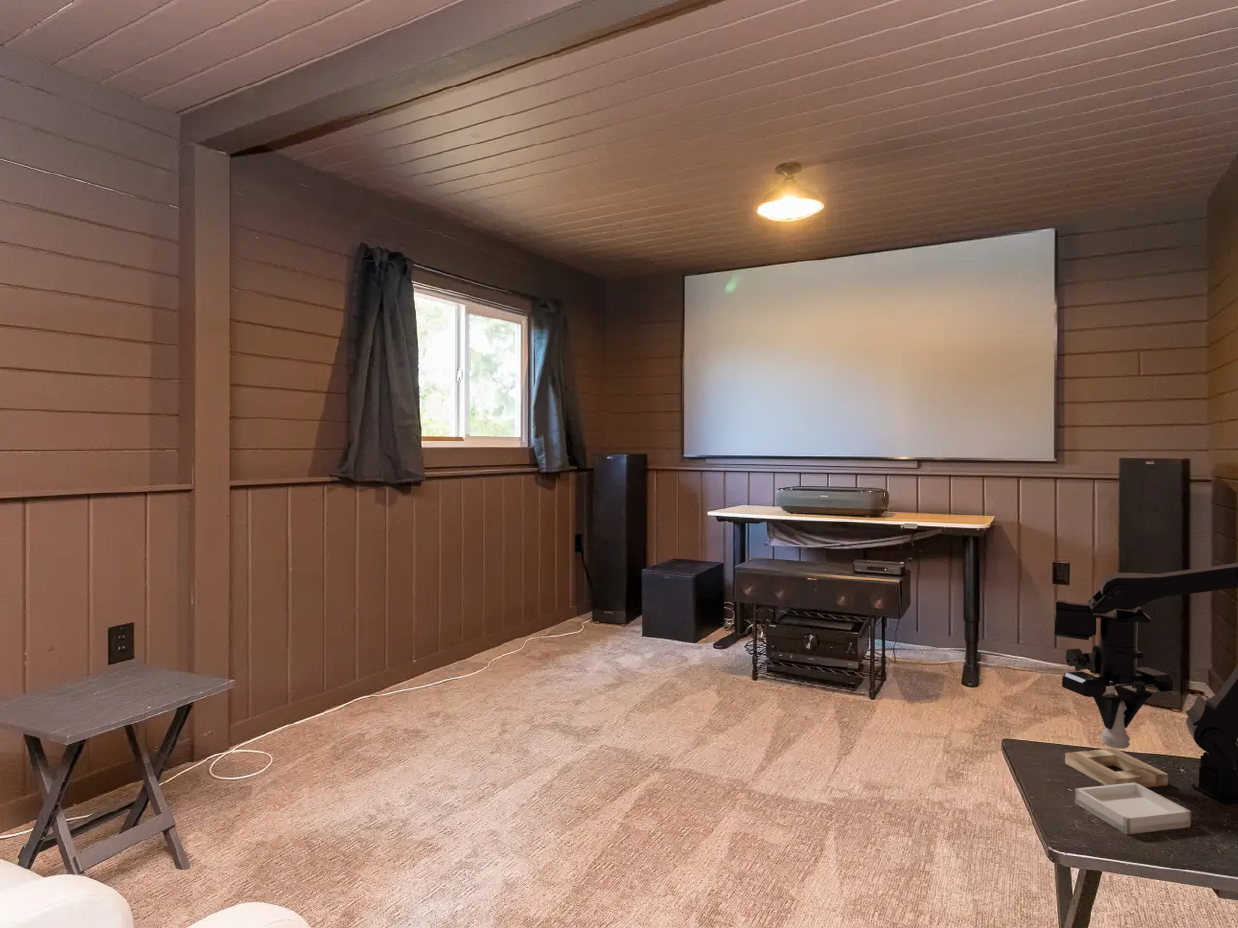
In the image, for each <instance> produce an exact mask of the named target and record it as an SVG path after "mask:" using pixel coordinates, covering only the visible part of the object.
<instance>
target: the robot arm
mask: <svg viewBox="0 0 1238 928" xmlns="http://www.w3.org/2000/svg"><path fill="white" fill-rule="evenodd" d="M1237 588H1238V561H1236V562H1233V563H1227V564H1221V565H1213V566H1207V567H1198V568H1191V569H1184V570H1177V571H1168V572H1162V573H1145V572H1144V573H1141V572H1112V573H1108V574H1106V575H1105V576H1104V577H1103V578H1102V580H1101V581H1100V583H1099V589H1098V591H1096V593H1094V595H1093V596H1091V597H1090V598H1089V599H1088V600H1087V602H1086V603H1085V602H1083V603H1082V602H1074V601H1073V602H1072V601H1067V600H1063V599H1061V600H1060V599H1056V600H1055V602H1054V603H1055V607H1054V614H1053V617H1052V622H1053V623H1052V626H1053V627H1052V628H1053V629H1052V632H1053V633H1052V634H1053V637H1059V638H1065V639H1066V638H1067V639H1075V640H1083V641H1089V640H1090V638H1093V636H1096V635H1097V619H1099V644H1094V645H1093V647H1092V651H1091V652H1085V653H1083V651H1082V650H1081V649H1080V648H1069V649H1068V648H1067V649H1066V652H1065V661H1066V664H1067V666H1069V667H1074V671H1071V672H1065V673H1064V674H1063V675H1062V677H1061V678H1062V681H1061V687H1062V688H1064V689H1066V690H1068V691H1071V692H1073V693H1076V694H1078V695H1080V696H1083V697H1087V698H1093V700H1094V702H1095V703H1096V706H1097V708H1098V711H1099V713H1100V717H1101V719H1102V722H1103V725H1104V727H1105V728H1108V729H1112V727H1113V725H1114V722H1115V718H1116V715H1117V711H1118V707H1119V703H1121V701H1124V702H1125V706H1126V707H1127V709H1126V710H1125V711H1124V715H1125V717H1124V725H1125V729H1127V728H1128V727H1129V725H1130V724H1131V722H1132V721H1133V719H1134V718H1135V716H1136V715H1137V713H1138V712H1139V710H1140V709H1141V708H1142V706H1143V705H1144V704H1145V703H1146V702H1147V701H1148V699H1150V698H1152V697H1153V695H1154V693H1153V692H1150V691H1147V687H1146V686H1148V685H1153V686H1154V688H1155V689H1156V690H1157V692H1160V693H1162V692H1163V693H1165V692H1174V691H1173V690H1174V688H1173V687H1174V685H1173V684H1174V681H1173V679H1172V677H1171V676H1170V675H1169V674H1168V673H1166V672H1163V671H1159V670H1158V669H1154V668H1151V667H1148V666H1144V667H1143V666H1142V667H1137V666H1138V663H1137V662H1138V659H1144V652H1142V651H1139V650H1138V633H1139V632H1138V628H1139V627H1138V626H1139V623H1143V624H1151V623H1152V619H1151V618H1150V616H1149V615H1148V614H1146V613H1145V612H1144V611H1143V609H1142V608H1141V607H1142V606H1145V605H1148V604H1150V603H1152V602H1155V601H1158V600H1160V599H1163V598H1169V597H1175V596H1182V595H1193V594H1198V593H1208V592H1217V591H1224V590H1231V589H1237ZM1134 608H1135V609H1134ZM1131 609H1132V610H1131ZM1112 611H1113V612H1112ZM1082 670H1083V671H1082ZM1084 670H1087V671H1089V673H1091V674H1089V673H1088V672H1085V671H1084ZM1092 674H1094V675H1092ZM1095 675H1098V676H1095ZM1115 692H1116V693H1117V694H1116V693H1115ZM1185 714H1186V716H1187V718H1186V722H1185V724H1186V728H1187V731H1188V732H1189V734H1190V735H1191V737H1192V739H1193V741H1194V742H1195V744H1196V745H1197V747H1199V749H1201V750H1203V751H1204V752H1203V753H1202V755H1200V760H1199V762H1200V763H1199V765H1198V766H1199V767H1198V782H1192V783H1191V782H1190V786H1191V788H1193V789H1195V790H1198V791H1200V792H1201V793H1204V794H1205V795H1208V796H1210V797H1212V798H1213V799H1216V800H1218V801H1219V802H1220V801H1221V802H1222V803H1223V804H1234V803H1238V665H1236V667H1235V669H1234V670H1233V671H1232V673H1231V674H1230V676H1229V677H1228V678H1227V679H1226V681H1225V683H1224V684H1223V685H1222V686H1221V688H1220V689H1219V691H1218V692H1217V693H1216V694H1215V695H1212V696H1211V697H1209V698H1208V699H1206V698H1205V697H1203V696H1201V695H1197V697H1196V698H1195V700H1194V702H1193V705H1192V706H1191V707H1190V708H1189V709H1188V710H1186V711H1185Z"/></svg>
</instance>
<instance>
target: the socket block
mask: <svg viewBox="0 0 1238 928" xmlns="http://www.w3.org/2000/svg"><path fill="white" fill-rule="evenodd" d="M1064 754H1065V756H1064V757H1065V758H1064V764H1066V765H1067V766H1069V767H1071V768H1073V769H1074V770H1077V771H1078V772H1080V773H1082V774H1084V775H1086V776H1087V777H1088V778H1091V779H1092V780H1095V781H1097V782H1098V783H1100V784H1102V785H1103V786H1105V785H1115V784H1125V783H1134V782H1135V783H1137V784H1139V785H1141V786H1143V787H1145V788H1153V787H1161V786H1162V787H1163V786H1168V781H1169V774H1168V773H1166V772H1164V771H1162V770H1161V769H1158V768H1156V767H1154V766H1152V765H1150V764H1148V763H1146V762H1144V761H1142V760H1139V759H1138V758H1135V757H1134V756H1131V755H1129V754H1127V753H1125V752H1122V751H1121V750H1119V749H1118V748H1114V747H1113V748H1105V749H1094V750H1085V751H1084V750H1082V751H1072V752H1065V753H1064ZM1112 766H1115V767H1117V768H1119V769H1121V770H1120V771H1114V770H1113V769H1111V768H1109V767H1112Z"/></svg>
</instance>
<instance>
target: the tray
mask: <svg viewBox="0 0 1238 928" xmlns="http://www.w3.org/2000/svg"><path fill="white" fill-rule="evenodd" d="M1074 790H1075V791H1074V804H1075V805H1077V806H1079V807H1081V808H1082V809H1084V810H1086V811H1087V812H1089V813H1090V814H1092V815H1094V816H1095V817H1097V818H1099V819H1100V820H1102V821H1104V822H1105V823H1107V824H1108V825H1110V826H1112V827H1113V828H1115V829H1117V830H1118V831H1120V832H1122V833H1123V834H1124V835H1133V834H1143V833H1151V832H1158V831H1167V830H1175V829H1176V830H1177V829H1184V828H1185V829H1186V828H1191V826H1192V824H1191V823H1192V811H1191V810H1189V809H1187V808H1186V807H1184V806H1182V805H1180V804H1179V803H1176V802H1174V801H1172V800H1170V799H1168V798H1166V797H1164V796H1162V795H1161V794H1158V793H1156V792H1154V791H1153V790H1150V789H1148V787H1143V786H1141V785H1139V784H1137V783H1135V782H1134V783H1125V784H1115V785H1099V786H1098V785H1097V786H1087V787H1077V788H1075V789H1074Z"/></svg>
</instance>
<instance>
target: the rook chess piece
mask: <svg viewBox="0 0 1238 928" xmlns="http://www.w3.org/2000/svg"><path fill="white" fill-rule="evenodd" d="M1126 709H1127V707H1126V706H1125V702H1124V701H1121V703H1119V707H1118V711H1117V715H1116V718H1115V722H1114V725H1113V727H1112V729H1108V728H1106V727H1105V728H1104V730H1103V731H1102V732H1101V736H1102V737H1101V738H1100V740H1101V742H1102V743H1103V744H1104V745H1106V746H1108V747H1111V748H1113V749H1114V748H1115V749H1127V748H1129V746H1130V745H1131V743H1130V742H1129V741H1130V740H1131V739H1130V736H1129V735H1128V732H1127V730H1126V728H1125V725H1124V717H1125V715H1124V711H1125V710H1126Z"/></svg>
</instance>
